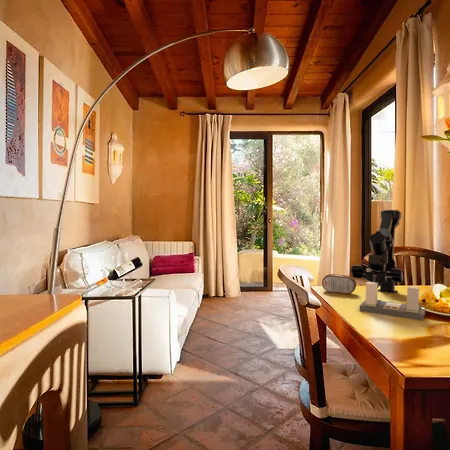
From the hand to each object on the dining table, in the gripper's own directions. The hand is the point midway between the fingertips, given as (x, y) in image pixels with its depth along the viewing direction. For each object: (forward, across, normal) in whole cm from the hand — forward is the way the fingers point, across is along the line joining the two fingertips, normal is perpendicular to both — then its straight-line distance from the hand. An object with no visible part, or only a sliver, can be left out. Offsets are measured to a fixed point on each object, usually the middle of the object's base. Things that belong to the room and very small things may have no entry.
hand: (373, 291), depth 135 cm
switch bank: (+5, +7, +5) cm, 10 cm away
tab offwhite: (+5, 0, +1) cm, 5 cm away
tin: (-8, -18, +18) cm, 27 cm away
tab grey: (+5, +14, +1) cm, 15 cm away
